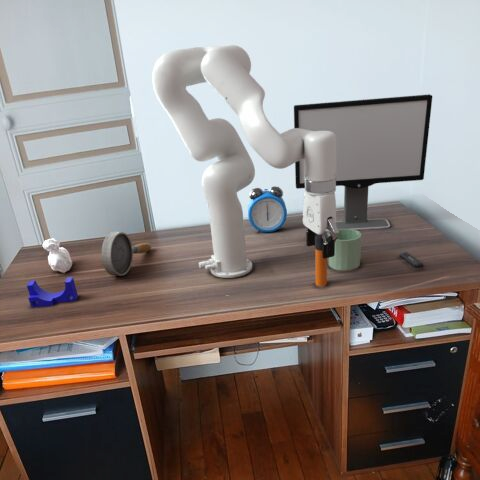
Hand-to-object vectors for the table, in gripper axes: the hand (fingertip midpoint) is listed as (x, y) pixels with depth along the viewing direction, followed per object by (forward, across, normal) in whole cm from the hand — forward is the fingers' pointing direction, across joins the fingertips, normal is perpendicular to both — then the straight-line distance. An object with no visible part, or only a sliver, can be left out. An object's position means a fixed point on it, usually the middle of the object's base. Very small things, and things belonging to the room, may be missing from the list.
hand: (320, 250), depth 132 cm
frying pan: (+10, -41, -45) cm, 62 cm away
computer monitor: (+10, -34, +32) cm, 47 cm away
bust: (+10, -50, -66) cm, 83 cm away
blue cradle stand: (+10, -27, -69) cm, 75 cm away
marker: (+10, 0, 0) cm, 10 cm away
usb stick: (+10, 0, +29) cm, 31 cm away
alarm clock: (+10, -46, +4) cm, 47 cm away
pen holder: (+10, -8, +12) cm, 18 cm away
